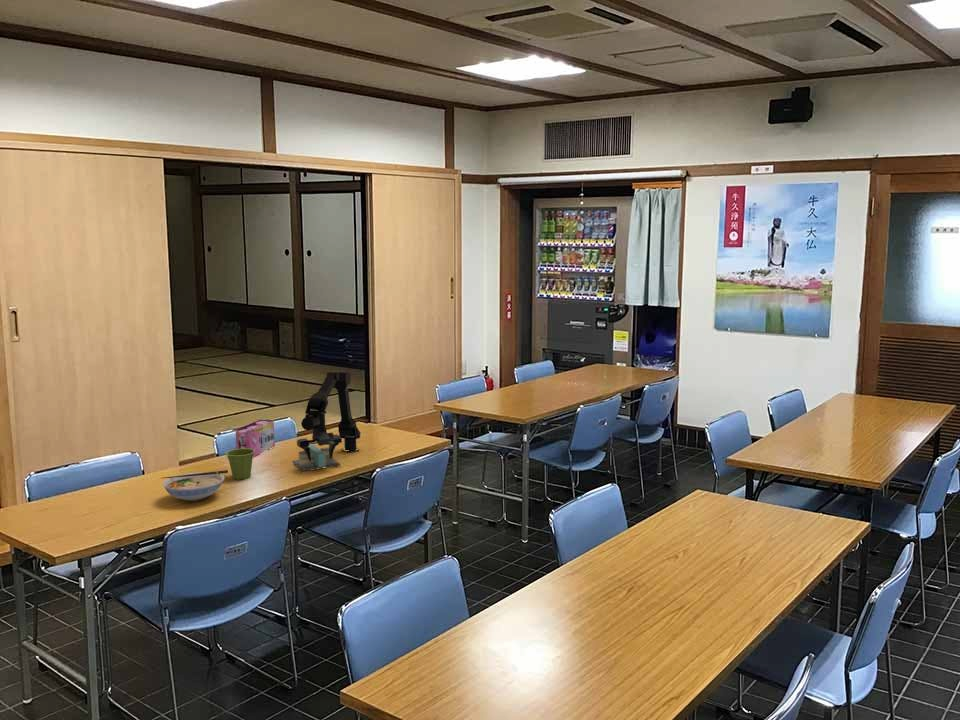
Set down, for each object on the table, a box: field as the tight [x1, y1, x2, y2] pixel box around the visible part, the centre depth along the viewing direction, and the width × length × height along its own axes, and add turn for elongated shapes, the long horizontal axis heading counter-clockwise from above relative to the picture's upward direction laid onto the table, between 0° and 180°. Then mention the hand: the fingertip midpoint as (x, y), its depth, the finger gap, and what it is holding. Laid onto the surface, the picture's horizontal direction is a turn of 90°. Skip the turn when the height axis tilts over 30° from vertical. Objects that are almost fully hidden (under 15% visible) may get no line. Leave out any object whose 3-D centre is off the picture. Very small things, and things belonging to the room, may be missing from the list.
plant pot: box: [225, 448, 255, 481], centre depth 340 cm, size 12×12×11 cm
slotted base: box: [292, 446, 341, 472], centre depth 359 cm, size 16×17×7 cm
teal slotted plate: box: [309, 444, 326, 468], centre depth 359 cm, size 18×3×6 cm, turn 28°
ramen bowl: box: [160, 469, 229, 502], centre depth 312 cm, size 25×23×8 cm
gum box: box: [235, 419, 276, 458], centre depth 381 cm, size 24×8×14 cm, turn 165°
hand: (320, 460), depth 353 cm, fingers open, 9 cm apart
